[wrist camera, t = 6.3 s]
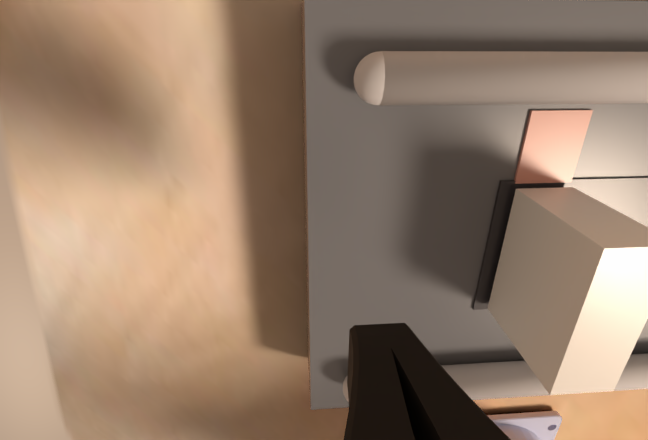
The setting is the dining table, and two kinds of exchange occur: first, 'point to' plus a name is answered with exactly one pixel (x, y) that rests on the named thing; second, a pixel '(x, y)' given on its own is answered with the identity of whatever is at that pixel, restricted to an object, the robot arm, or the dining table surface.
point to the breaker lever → (571, 288)
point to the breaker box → (445, 170)
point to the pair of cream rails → (494, 89)
